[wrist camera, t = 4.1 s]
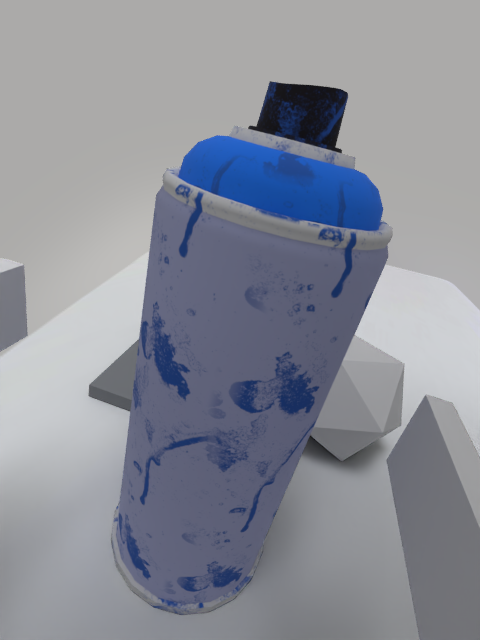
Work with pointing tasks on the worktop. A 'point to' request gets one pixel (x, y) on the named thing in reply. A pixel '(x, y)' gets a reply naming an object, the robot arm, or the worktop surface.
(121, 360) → the mat
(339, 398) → the die
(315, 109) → the aerosol can
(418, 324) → the worktop surface
